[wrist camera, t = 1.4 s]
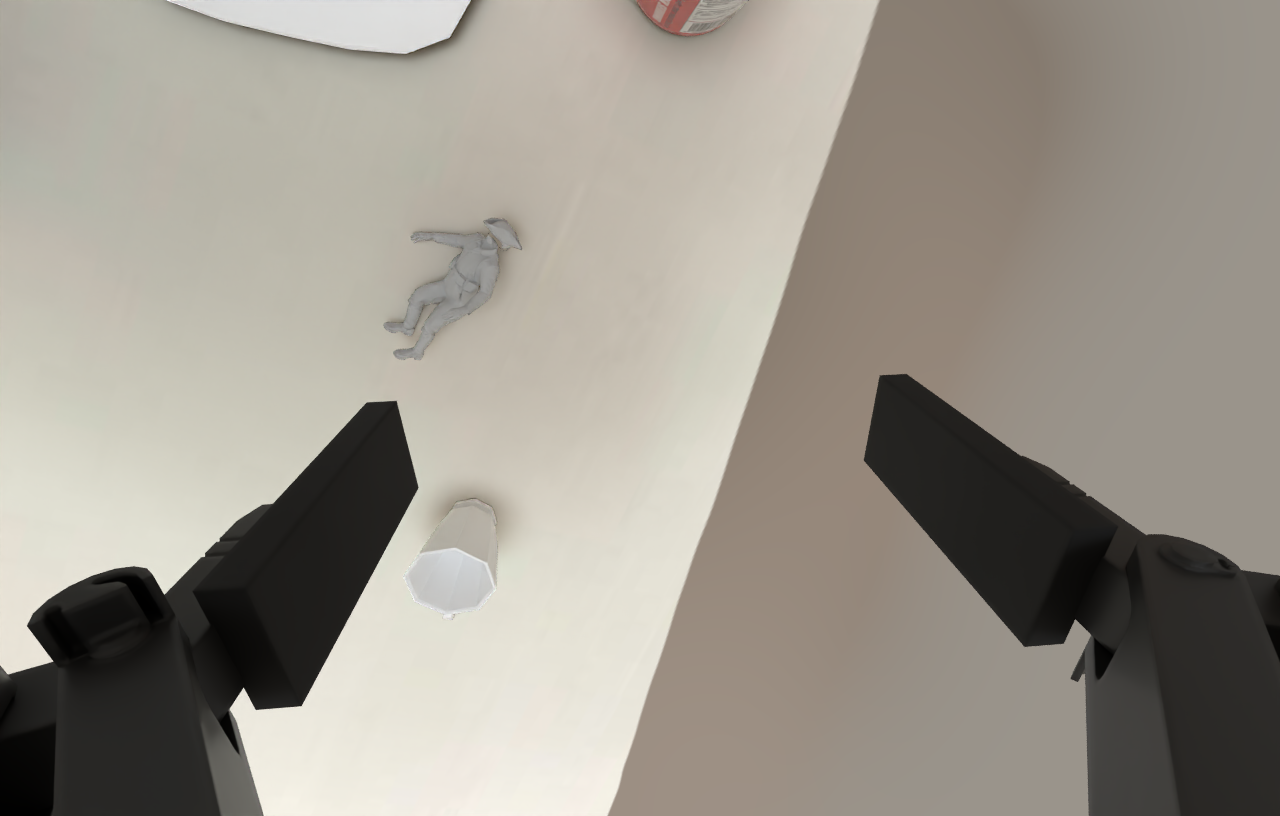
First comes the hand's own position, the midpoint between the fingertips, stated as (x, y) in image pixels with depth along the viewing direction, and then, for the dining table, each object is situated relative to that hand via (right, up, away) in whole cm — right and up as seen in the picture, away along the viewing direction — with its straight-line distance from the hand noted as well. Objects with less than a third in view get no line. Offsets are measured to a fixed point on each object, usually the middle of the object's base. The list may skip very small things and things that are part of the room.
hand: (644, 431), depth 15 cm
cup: (-16, -11, +34) cm, 39 cm away
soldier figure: (-14, +10, +24) cm, 29 cm away
